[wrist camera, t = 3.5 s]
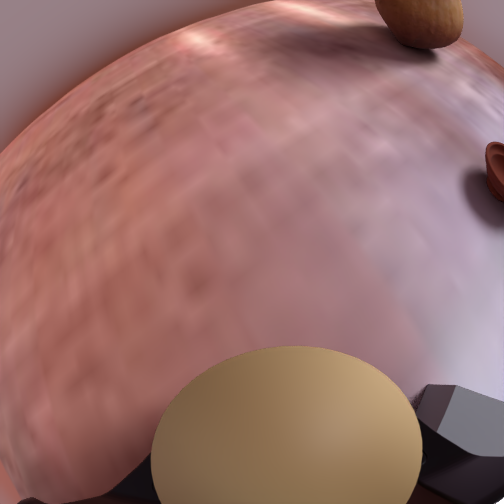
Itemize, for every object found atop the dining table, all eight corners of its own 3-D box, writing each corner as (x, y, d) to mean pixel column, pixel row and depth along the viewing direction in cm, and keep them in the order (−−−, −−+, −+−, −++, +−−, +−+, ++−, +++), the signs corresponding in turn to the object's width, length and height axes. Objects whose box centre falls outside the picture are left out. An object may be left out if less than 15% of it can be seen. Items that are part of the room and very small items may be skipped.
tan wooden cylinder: (302, 447, 14) (331, 585, 2) (232, 414, 15) (117, 497, 3) (339, 379, 15) (461, 398, 3) (268, 348, 16) (227, 297, 5)
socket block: (455, 561, 6) (472, 576, 3) (318, 555, 10) (323, 582, 7) (537, 420, 10) (564, 420, 7) (427, 384, 14) (456, 385, 11)
